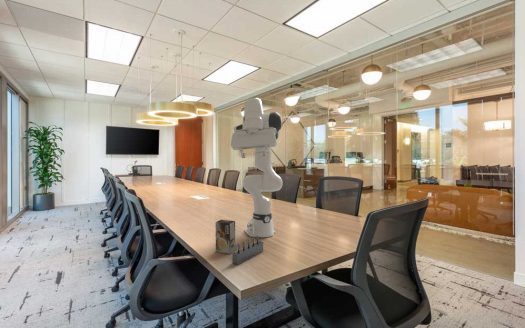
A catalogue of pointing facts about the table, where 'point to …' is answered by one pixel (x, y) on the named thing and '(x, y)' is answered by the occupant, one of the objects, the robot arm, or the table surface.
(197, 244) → the table surface
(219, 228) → the coffee box
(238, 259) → the peg rack
